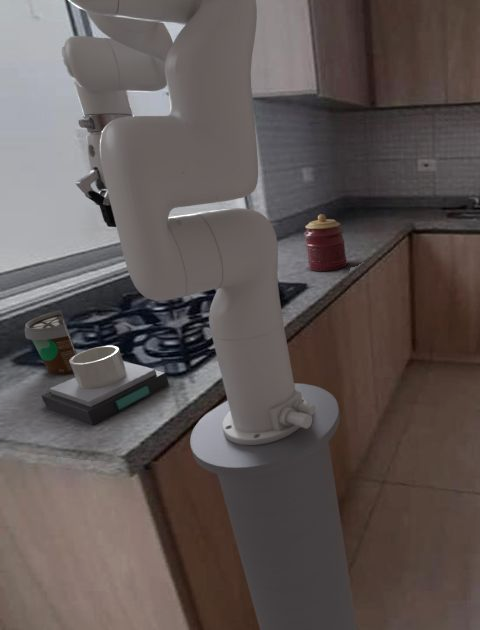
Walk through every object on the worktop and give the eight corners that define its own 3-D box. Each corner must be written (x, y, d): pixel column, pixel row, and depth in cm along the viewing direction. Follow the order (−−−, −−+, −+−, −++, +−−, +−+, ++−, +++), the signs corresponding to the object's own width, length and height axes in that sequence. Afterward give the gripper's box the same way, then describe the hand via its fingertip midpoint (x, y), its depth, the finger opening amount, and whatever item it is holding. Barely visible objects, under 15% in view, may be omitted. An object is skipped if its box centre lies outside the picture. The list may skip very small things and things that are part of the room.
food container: (40, 363, 90) (21, 317, 86) (77, 353, 93) (60, 309, 90) (41, 385, 81) (20, 335, 77) (82, 373, 84) (64, 325, 81)
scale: (171, 385, 78) (166, 368, 77) (95, 426, 67) (87, 407, 66) (123, 372, 84) (118, 356, 83) (46, 408, 73) (38, 390, 72)
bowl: (135, 372, 76) (127, 349, 74) (94, 392, 70) (84, 367, 69) (111, 366, 79) (103, 343, 77) (69, 384, 73) (60, 360, 72)
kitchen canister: (309, 263, 156) (302, 213, 149) (346, 260, 157) (341, 210, 151) (307, 273, 144) (299, 218, 137) (347, 269, 146) (341, 215, 139)
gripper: (72, 125, 71) (105, 231, 77) (169, 125, 85) (190, 215, 91) (46, 128, 74) (80, 229, 80) (144, 128, 88) (166, 214, 95)
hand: (139, 222), depth 86 cm, fingers open, 9 cm apart
